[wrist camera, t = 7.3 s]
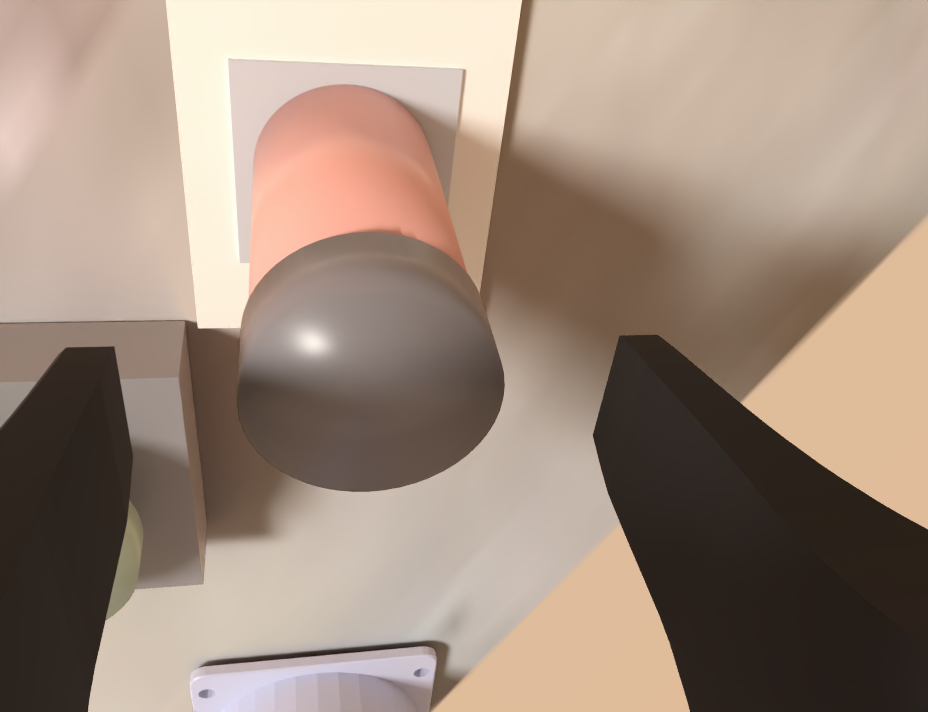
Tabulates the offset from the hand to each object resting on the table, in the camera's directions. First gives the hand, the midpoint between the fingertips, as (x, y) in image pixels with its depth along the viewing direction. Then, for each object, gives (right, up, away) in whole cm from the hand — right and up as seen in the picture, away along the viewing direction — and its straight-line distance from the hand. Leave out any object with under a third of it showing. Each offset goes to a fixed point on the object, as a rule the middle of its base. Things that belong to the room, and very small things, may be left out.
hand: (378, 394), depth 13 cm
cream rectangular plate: (-1, +5, +5) cm, 7 cm away
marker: (-1, +4, +5) cm, 7 cm away
